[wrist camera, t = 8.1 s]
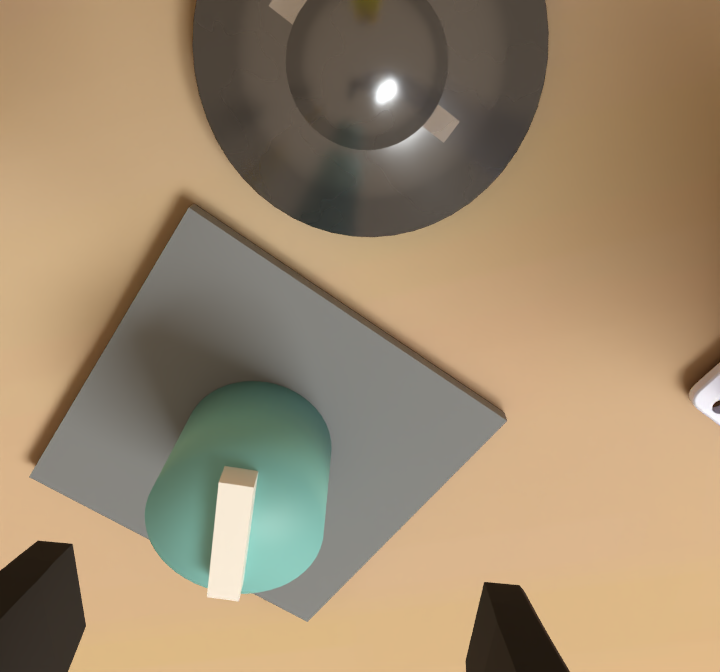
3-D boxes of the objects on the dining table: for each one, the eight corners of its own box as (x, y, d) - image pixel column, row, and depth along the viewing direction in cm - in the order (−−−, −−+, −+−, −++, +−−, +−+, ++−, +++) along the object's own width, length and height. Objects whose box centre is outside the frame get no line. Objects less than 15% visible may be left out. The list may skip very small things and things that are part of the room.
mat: (504, 412, 20) (507, 420, 20) (308, 611, 24) (307, 621, 24) (193, 203, 17) (188, 207, 17) (36, 468, 22) (29, 476, 21)
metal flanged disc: (617, 19, 15) (664, 12, 13) (401, 288, 18) (404, 325, 16) (324, -250, 13) (309, -324, 11) (140, 105, 16) (96, 114, 14)
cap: (320, 514, 21) (307, 623, 17) (180, 493, 21) (133, 600, 17) (342, 394, 20) (336, 483, 15) (189, 369, 19) (138, 454, 15)
